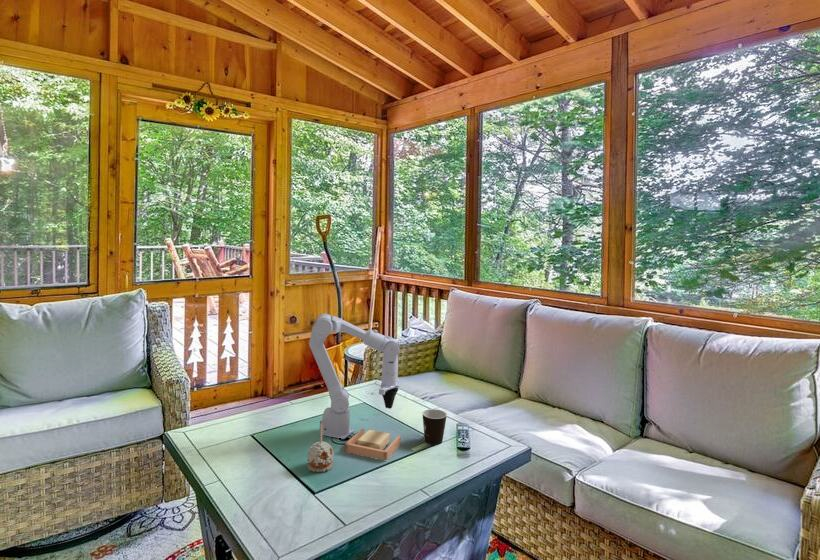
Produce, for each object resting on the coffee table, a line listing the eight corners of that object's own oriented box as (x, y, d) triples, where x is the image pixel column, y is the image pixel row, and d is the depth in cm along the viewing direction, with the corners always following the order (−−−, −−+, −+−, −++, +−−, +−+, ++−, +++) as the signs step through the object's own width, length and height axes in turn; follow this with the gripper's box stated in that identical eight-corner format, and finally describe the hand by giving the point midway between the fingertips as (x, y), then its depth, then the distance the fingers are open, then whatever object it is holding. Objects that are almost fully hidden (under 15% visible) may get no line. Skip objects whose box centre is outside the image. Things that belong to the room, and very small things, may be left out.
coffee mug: (443, 447, 159) (445, 419, 158) (419, 444, 161) (420, 417, 160) (447, 433, 171) (449, 407, 170) (425, 430, 172) (426, 405, 171)
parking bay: (344, 452, 153) (344, 443, 153) (361, 436, 165) (361, 428, 165) (386, 461, 148) (386, 452, 148) (400, 444, 160) (400, 436, 160)
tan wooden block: (357, 451, 154) (357, 440, 154) (368, 440, 163) (369, 429, 162) (379, 456, 152) (379, 444, 151) (389, 444, 160) (390, 433, 160)
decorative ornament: (321, 476, 138) (321, 428, 137) (302, 468, 142) (302, 421, 141) (338, 465, 145) (339, 419, 143) (319, 458, 149) (320, 413, 147)
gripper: (392, 378, 159) (391, 416, 161) (407, 367, 173) (405, 402, 174) (373, 376, 162) (372, 413, 163) (389, 365, 175) (388, 399, 177)
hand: (388, 407), depth 169 cm, fingers closed
